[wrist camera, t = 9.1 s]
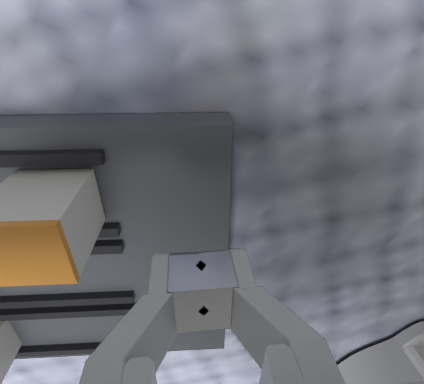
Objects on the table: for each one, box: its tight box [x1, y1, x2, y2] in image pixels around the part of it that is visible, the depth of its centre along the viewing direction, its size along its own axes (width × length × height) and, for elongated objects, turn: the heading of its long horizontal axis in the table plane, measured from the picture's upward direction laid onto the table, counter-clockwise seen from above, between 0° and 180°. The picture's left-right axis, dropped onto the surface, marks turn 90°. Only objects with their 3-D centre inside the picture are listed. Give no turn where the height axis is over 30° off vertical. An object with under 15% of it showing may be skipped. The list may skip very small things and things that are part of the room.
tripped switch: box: [0, 169, 105, 287], centre depth 12 cm, size 4×3×4 cm
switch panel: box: [0, 112, 233, 384], centre depth 16 cm, size 22×18×6 cm
